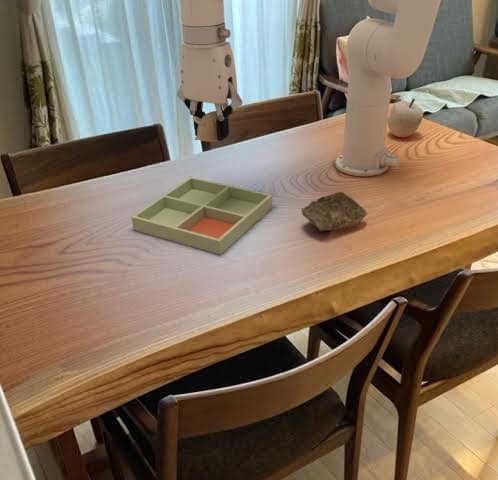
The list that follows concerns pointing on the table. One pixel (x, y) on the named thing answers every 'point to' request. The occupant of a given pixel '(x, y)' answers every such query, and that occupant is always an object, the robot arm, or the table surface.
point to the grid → (203, 214)
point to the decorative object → (404, 118)
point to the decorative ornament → (207, 127)
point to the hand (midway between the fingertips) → (211, 135)
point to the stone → (334, 212)
